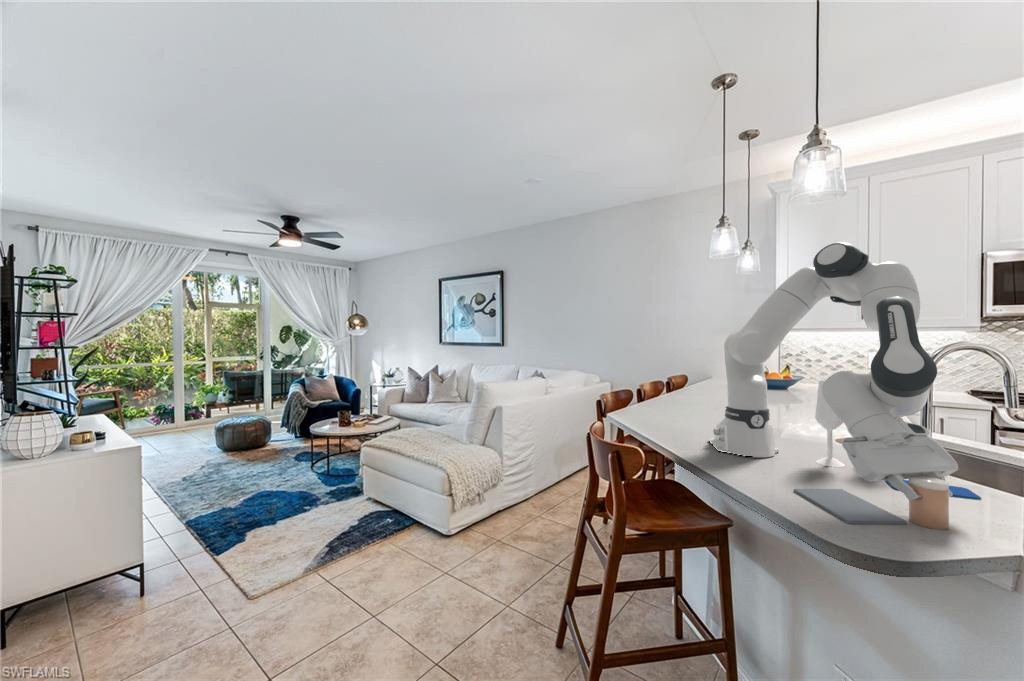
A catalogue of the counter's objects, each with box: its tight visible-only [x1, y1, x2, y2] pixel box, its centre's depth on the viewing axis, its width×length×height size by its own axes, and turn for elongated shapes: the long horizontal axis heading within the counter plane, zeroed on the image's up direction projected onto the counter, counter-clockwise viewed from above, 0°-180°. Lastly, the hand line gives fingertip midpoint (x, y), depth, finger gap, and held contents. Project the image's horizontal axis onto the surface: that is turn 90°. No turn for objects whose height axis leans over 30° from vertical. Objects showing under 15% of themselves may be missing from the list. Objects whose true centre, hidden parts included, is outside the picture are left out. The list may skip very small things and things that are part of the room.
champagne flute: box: [814, 379, 846, 468], centre depth 118 cm, size 7×7×24 cm
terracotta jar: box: [908, 475, 950, 531], centre depth 80 cm, size 6×6×8 cm
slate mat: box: [793, 488, 908, 525], centre depth 89 cm, size 17×11×1 cm, turn 177°
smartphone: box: [884, 479, 982, 500], centre depth 97 cm, size 7×1×15 cm
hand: (931, 498), depth 80 cm, fingers closed on terracotta jar, 5 cm apart
